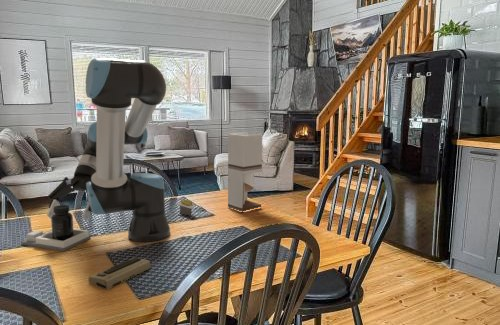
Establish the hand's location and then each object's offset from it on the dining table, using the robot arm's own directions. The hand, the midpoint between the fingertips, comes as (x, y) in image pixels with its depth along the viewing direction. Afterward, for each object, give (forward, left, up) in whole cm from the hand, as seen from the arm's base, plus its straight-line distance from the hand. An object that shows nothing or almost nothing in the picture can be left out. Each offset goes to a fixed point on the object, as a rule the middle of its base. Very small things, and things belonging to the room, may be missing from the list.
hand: (66, 218), depth 138 cm
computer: (-36, +18, -8) cm, 41 cm away
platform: (-26, -42, -8) cm, 50 cm away
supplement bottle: (-1, +3, -7) cm, 8 cm away
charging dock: (+2, +3, -8) cm, 9 cm away
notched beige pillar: (-47, -60, -8) cm, 76 cm away
